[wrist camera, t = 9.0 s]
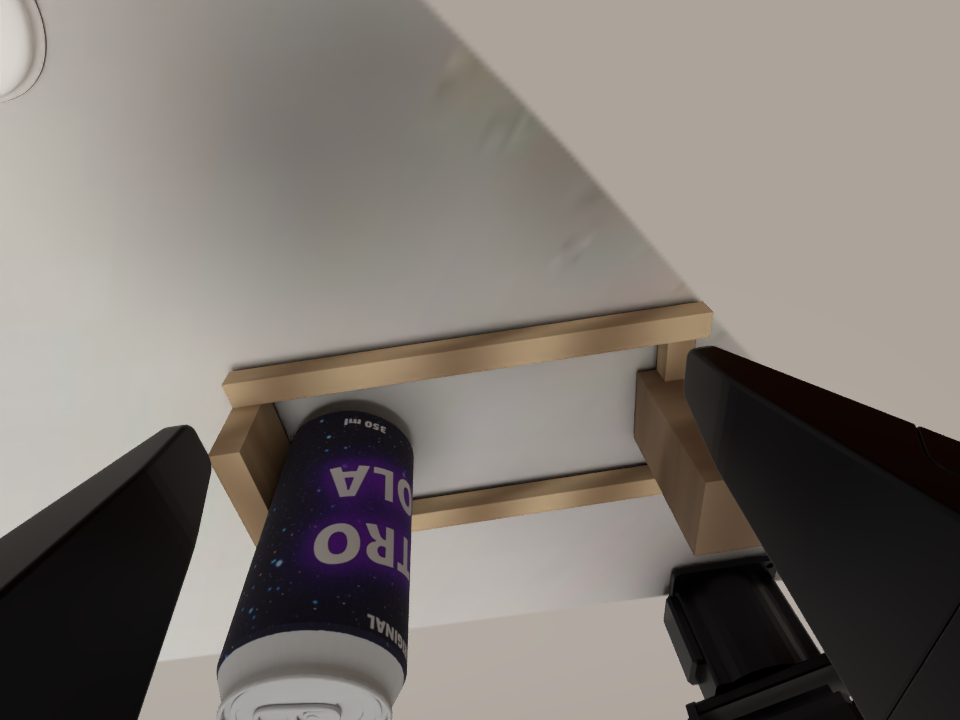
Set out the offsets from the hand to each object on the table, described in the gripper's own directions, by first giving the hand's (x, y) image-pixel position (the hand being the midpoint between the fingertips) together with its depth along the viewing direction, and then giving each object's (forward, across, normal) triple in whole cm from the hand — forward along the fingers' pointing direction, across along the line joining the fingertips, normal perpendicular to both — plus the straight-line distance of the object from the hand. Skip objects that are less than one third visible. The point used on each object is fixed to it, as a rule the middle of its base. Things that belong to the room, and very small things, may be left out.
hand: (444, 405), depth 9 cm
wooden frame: (+12, -1, +10) cm, 16 cm away
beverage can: (+12, +6, +10) cm, 17 cm away
